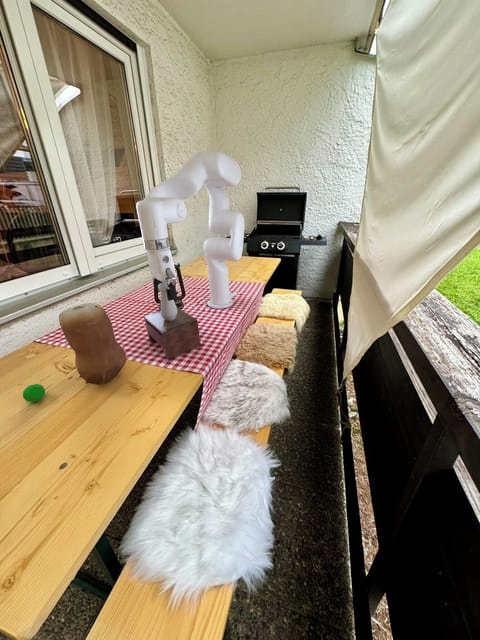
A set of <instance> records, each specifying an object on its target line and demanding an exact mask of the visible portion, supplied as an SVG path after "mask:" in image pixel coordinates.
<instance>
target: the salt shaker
mask: <svg viewBox="0 0 480 640" xmlns="http://www.w3.org/2000/svg"><path fill="white" fill-rule="evenodd" d="M167 283H168V285H169V283H170V282H167ZM166 289H167V287H166V285H165V283H164V282H163V283H160V284H159V285H158V290H159V291H160V292H159V293H160V311H161V315H162V317H163V318H164V319H165V320H168V321H171V320H174V319H175V318H176V315H177V308H176V306H177V305H176V303H175V299H174V300H171V301H169V300H168V298H167V293H166Z"/></svg>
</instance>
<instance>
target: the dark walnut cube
mask: <svg viewBox="0 0 480 640" xmlns="http://www.w3.org/2000/svg"><path fill="white" fill-rule="evenodd" d="M176 308H177V315H176V318H175V319H174V320H171V321H168V320H165V319H164V318H163V317H162V315H161V310H159V311H155V312H152V313H149V314H147V315H146V314H145V315H144V316H143V319H144V323H145V328H146V333H147V336H148V341H149V342H150V343H154V342H157V343H158V344H159V346H161V347H162V348H163V349H164V352H165V355H166V360H167V361H171V360H173V359H174V358H178V357H180V356H182V355H184V354H186V353H188V352H190V351H191V352H192V351H193V350H195V349H198V348H199V347H201V346H202V345H201V337H200V329H199V321H198V320H199V319H197V318H195V317H194V316H192V315H190V314H189V313H188V312H186V311H184V310H183V309H182V308H180V307H179V306H178V305H176Z"/></svg>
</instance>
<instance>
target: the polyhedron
mask: <svg viewBox="0 0 480 640" xmlns="http://www.w3.org/2000/svg"><path fill="white" fill-rule="evenodd" d="M45 395H46V389H45V387H44V386H43V385H42V384H39V383H35V384H33V383H32V384H30V385H28V386H27V387H25V389H24V390H23V391H22V398H23V399H24V400H25V401H26V402H29V403H35V402H38V401H40V400H42V399H43V398H44V396H45Z"/></svg>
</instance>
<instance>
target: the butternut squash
mask: <svg viewBox="0 0 480 640" xmlns="http://www.w3.org/2000/svg"><path fill="white" fill-rule="evenodd" d="M58 322H59V326H60V328H61V331H62V333H63V336H64V338H65V340H66V341H67V343H68V345H69V347H70V348H71V349H72V350H73V352H74V354H75V356H74V357H75V358H74V365H75V368H76V371H77V373H78V375H79V376H80V377H81V379H83V381H85V382H86V383H87V384H90V385H91V384H92V385H103V384H107V383H109V382H110V381H112V380H113V379H115V378H116V377H117V376H118V374H119V373H120V372H121V370H122V369H123V368H124V367H125V365H126V363H127V354H126V352H125V349H124V348H123V347H122V345H120V344H119V342H118V341H117V339H116V336H115V332H114V328H113V327H114V326H113V323H112V321H111V319H110V317H109V315H108V313H107V311H106V309H105V308H104V307H103V306H102V305H100V304H99V303H96V302H86V303H82V304H79V305H75V306H72V307H68V308H66V309H65V310H62V311H61V312H60V313H59V315H58Z"/></svg>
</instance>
